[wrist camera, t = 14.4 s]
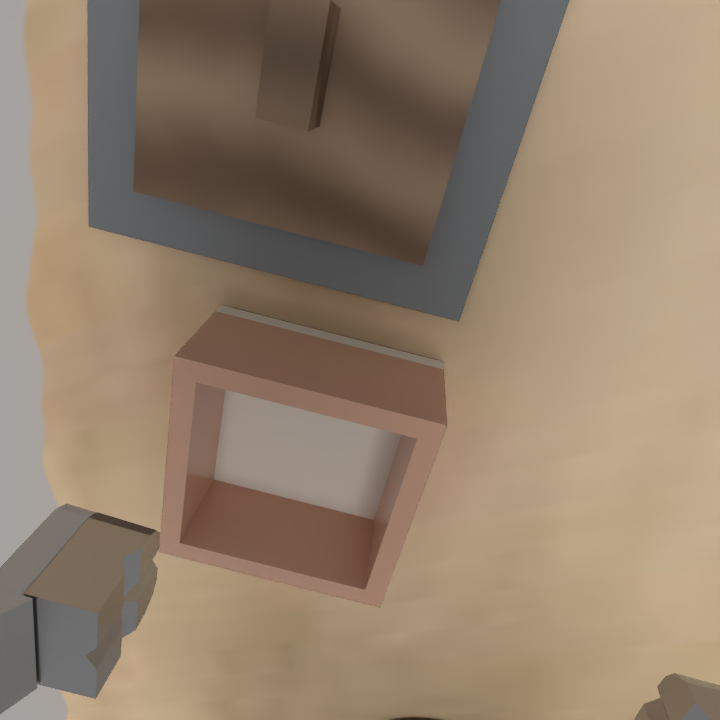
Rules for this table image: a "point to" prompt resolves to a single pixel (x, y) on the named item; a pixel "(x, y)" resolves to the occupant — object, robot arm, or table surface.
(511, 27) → the rubber mat
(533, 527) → the table surface
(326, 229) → the walnut lid
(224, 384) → the salmon open box
